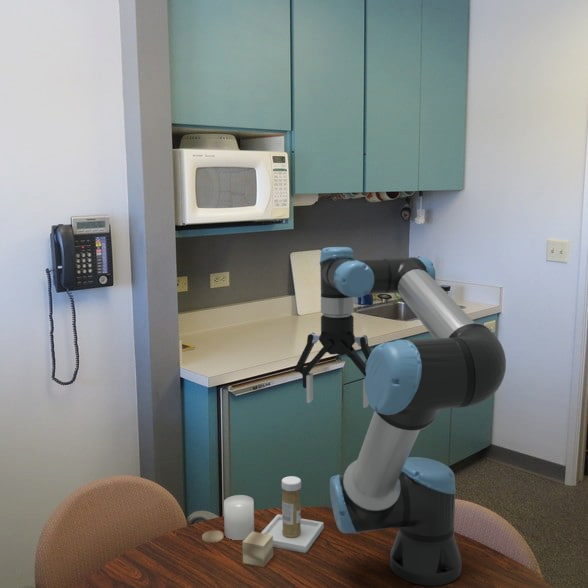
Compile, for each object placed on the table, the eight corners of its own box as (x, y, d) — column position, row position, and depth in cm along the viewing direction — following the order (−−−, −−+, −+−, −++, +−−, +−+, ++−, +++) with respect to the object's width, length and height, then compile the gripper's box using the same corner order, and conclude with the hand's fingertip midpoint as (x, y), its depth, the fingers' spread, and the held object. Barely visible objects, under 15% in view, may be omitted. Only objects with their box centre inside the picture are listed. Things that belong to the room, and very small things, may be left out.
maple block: (273, 556, 154) (272, 535, 153) (263, 567, 149) (263, 546, 149) (252, 551, 156) (252, 531, 155) (243, 563, 151) (242, 541, 150)
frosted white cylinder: (246, 543, 160) (245, 510, 158) (219, 537, 162) (218, 505, 161) (261, 526, 167) (260, 495, 166) (235, 521, 170) (234, 491, 169)
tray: (323, 528, 166) (323, 522, 166) (305, 553, 155) (305, 546, 155) (277, 520, 170) (277, 514, 170) (257, 543, 159) (257, 537, 159)
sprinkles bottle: (304, 535, 162) (304, 480, 160) (288, 540, 159) (288, 485, 157) (294, 526, 166) (294, 473, 163) (277, 532, 163) (277, 478, 161)
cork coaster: (221, 532, 165) (221, 529, 165) (225, 542, 161) (225, 538, 161) (200, 535, 164) (200, 532, 164) (203, 545, 159) (203, 542, 159)
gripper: (394, 313, 159) (393, 403, 162) (291, 309, 167) (292, 395, 170) (387, 319, 152) (387, 413, 155) (280, 314, 160) (282, 403, 163)
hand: (337, 403), depth 162 cm, fingers open, 13 cm apart
